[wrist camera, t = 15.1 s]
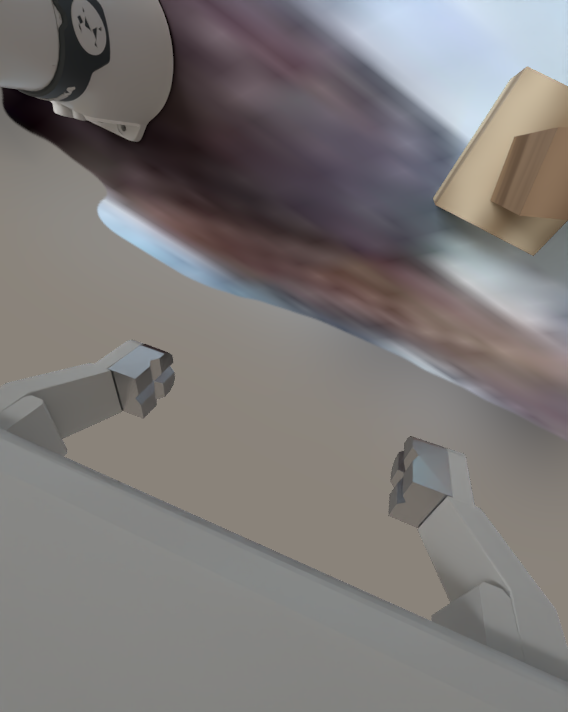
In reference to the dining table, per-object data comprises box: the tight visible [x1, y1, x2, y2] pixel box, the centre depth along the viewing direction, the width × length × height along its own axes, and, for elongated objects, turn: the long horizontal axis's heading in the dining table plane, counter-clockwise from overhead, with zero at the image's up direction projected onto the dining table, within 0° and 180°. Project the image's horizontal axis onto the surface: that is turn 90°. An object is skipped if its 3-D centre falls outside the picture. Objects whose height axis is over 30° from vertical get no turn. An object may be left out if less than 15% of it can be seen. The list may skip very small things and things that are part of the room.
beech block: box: [433, 67, 568, 256], centre depth 30 cm, size 11×11×6 cm
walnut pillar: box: [490, 127, 568, 220], centre depth 24 cm, size 5×5×10 cm
